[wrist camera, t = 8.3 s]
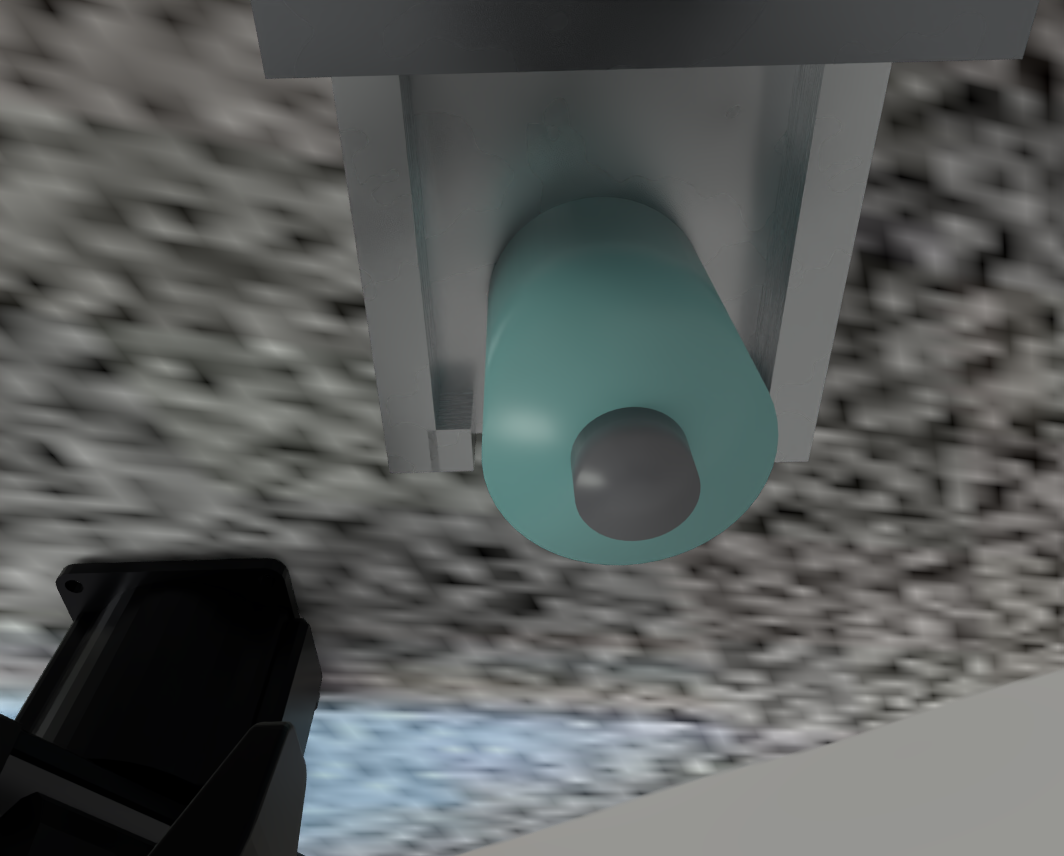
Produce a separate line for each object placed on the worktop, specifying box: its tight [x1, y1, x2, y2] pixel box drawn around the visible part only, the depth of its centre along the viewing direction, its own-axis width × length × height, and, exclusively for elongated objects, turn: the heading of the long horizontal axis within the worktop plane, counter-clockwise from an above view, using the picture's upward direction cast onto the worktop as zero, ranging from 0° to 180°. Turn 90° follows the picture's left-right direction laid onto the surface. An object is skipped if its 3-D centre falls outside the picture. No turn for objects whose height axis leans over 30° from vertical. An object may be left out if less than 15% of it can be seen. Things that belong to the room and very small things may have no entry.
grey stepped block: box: [251, 0, 1039, 473], centre depth 13 cm, size 10×18×7 cm, turn 1°
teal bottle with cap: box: [482, 197, 778, 565], centre depth 16 cm, size 5×5×7 cm
